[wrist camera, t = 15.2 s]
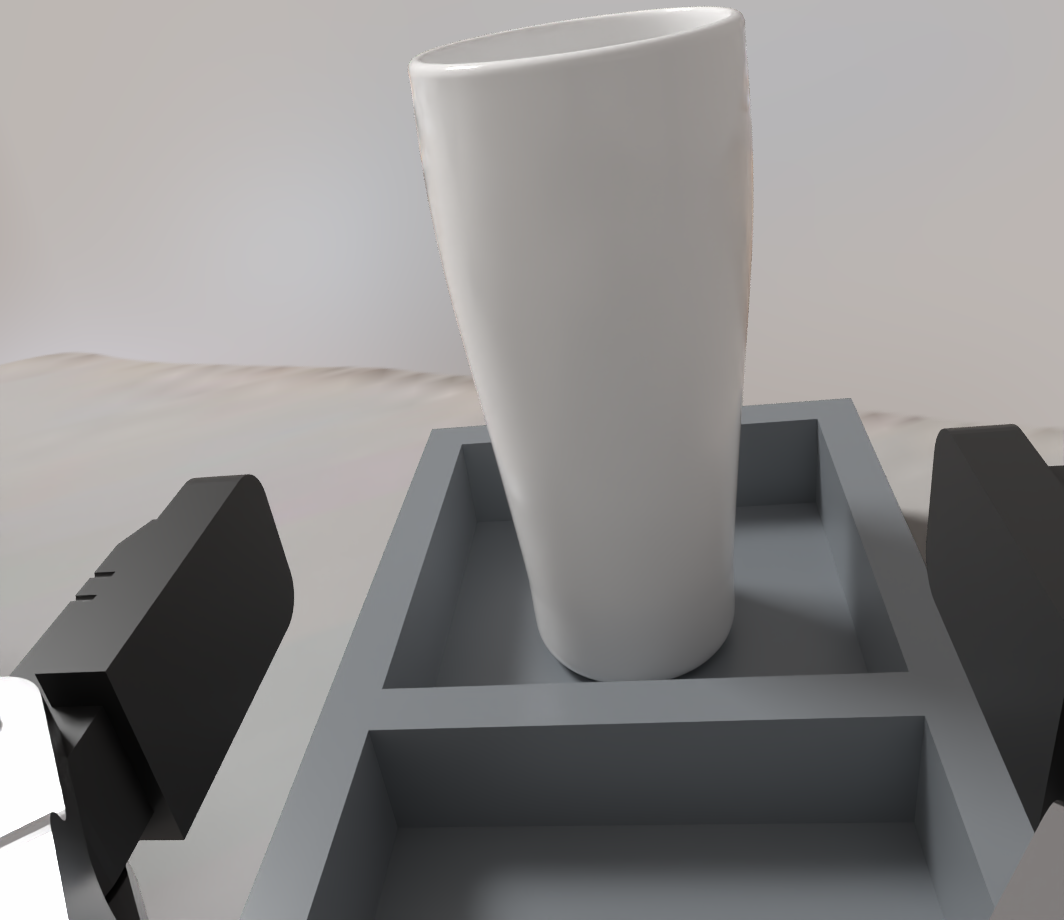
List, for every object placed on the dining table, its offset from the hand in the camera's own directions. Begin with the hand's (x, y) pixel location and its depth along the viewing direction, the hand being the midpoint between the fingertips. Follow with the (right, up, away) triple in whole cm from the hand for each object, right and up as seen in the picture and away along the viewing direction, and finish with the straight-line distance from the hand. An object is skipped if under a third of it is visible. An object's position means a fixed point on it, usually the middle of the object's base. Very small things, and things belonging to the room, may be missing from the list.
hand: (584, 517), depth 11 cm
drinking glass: (+2, -4, +14) cm, 15 cm away
